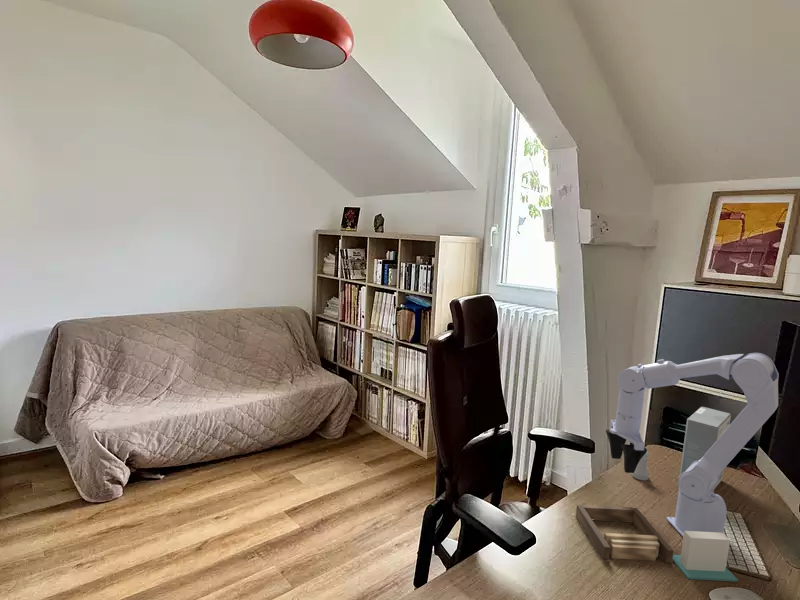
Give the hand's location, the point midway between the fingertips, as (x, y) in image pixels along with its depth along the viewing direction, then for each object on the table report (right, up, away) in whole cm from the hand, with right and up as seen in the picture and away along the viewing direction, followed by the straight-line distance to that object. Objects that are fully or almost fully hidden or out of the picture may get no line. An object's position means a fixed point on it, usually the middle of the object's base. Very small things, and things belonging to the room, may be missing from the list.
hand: (622, 465), depth 127 cm
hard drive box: (+27, -10, +13) cm, 32 cm away
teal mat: (+5, -13, -24) cm, 28 cm away
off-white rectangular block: (+5, -13, -24) cm, 28 cm away
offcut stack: (-7, -12, -21) cm, 25 cm away
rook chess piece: (+11, -8, +14) cm, 20 cm away
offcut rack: (-8, -11, -15) cm, 20 cm away
